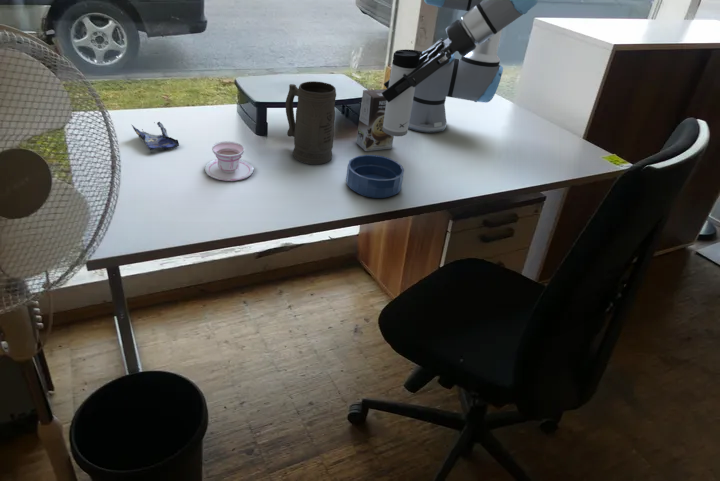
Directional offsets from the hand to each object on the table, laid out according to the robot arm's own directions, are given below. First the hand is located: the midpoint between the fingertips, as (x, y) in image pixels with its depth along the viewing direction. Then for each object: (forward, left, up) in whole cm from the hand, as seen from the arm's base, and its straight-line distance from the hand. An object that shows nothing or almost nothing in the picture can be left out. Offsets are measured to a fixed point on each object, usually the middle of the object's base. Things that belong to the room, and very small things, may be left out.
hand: (386, 92), depth 135 cm
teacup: (-25, -28, -24) cm, 44 cm away
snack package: (-48, -35, -24) cm, 64 cm away
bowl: (+2, -3, -24) cm, 24 cm away
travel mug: (+3, +2, -10) cm, 10 cm away
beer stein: (-22, -5, -24) cm, 32 cm away
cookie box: (-15, +16, -24) cm, 32 cm away
